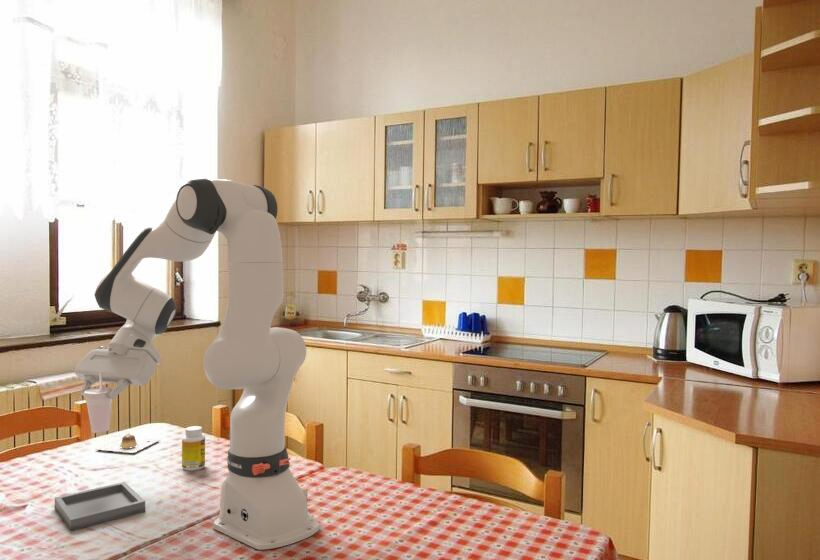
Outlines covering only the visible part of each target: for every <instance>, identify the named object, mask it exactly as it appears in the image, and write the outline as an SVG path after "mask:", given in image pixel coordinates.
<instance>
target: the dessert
mask: <svg viewBox="0 0 820 560" xmlns="http://www.w3.org/2000/svg"><path fill="white" fill-rule="evenodd" d="M136 439H140V440H151V441H156V442H154V443H153V442H151V443H150V444H147V445H145V446H143V447H142V448H140V449H137V450H135V451H120V450H113V449H112V450H111V449H104V450H102V448H105V447H106V446H109V445H110V444H113V443H115V442H118V441H120V440H122V442H120V445H119V448H120V447H122V448H130V447H134V446H136V445H137V446H138V443H137V441H136ZM159 441H161V439H158V438H155V439H154V438H146V437H144V438H143V437H136V436H135V435H131V433H130V431H128V432H126V433H125V435H124V436H123V437H120V438H118V439H115V440H113V441H110V442H109V443H107V444H104V445H102V446H100V447H97V448H95V449H94V450H95V451H99V450H101V451H100V452H107V451H113V452H112V453H118V452H122V453H121V454H128V453H132V454H133V453H134V454H136V453H137V451H138V452H139V450H140V451H142V450H144V449H146V448H149V447H150V446H152V445H154V444H156V443H158V442H159ZM132 454H131V455H132ZM134 454H133V455H134Z"/></svg>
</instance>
